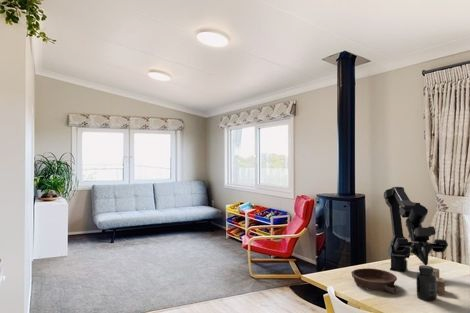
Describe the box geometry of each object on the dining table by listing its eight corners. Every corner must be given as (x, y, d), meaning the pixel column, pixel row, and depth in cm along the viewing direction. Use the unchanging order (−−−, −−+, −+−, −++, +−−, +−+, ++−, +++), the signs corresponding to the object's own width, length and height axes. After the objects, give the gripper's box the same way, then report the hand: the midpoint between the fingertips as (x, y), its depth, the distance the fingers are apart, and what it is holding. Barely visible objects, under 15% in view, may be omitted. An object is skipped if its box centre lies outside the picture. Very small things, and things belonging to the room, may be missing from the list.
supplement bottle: (434, 295, 135) (434, 265, 135) (438, 302, 129) (438, 270, 129) (415, 293, 138) (414, 263, 138) (418, 300, 131) (417, 268, 131)
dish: (366, 275, 160) (366, 264, 160) (410, 290, 141) (410, 278, 141) (339, 281, 152) (339, 270, 152) (382, 299, 133) (382, 286, 133)
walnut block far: (422, 280, 153) (422, 268, 153) (427, 277, 156) (427, 266, 156) (435, 283, 149) (435, 271, 149) (439, 280, 152) (439, 269, 152)
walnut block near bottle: (430, 292, 139) (430, 280, 139) (428, 288, 143) (428, 276, 143) (444, 294, 137) (444, 281, 137) (442, 290, 141) (442, 277, 141)
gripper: (396, 218, 140) (405, 252, 129) (445, 219, 137) (459, 254, 126) (390, 233, 148) (398, 267, 137) (437, 234, 145) (449, 269, 134)
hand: (426, 264), depth 133 cm, fingers closed
